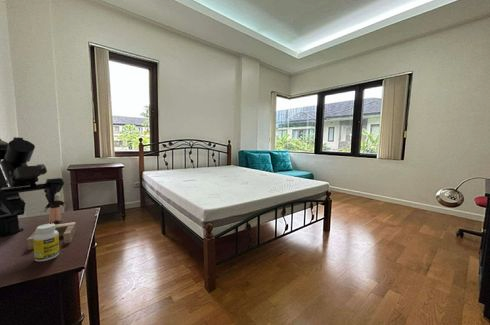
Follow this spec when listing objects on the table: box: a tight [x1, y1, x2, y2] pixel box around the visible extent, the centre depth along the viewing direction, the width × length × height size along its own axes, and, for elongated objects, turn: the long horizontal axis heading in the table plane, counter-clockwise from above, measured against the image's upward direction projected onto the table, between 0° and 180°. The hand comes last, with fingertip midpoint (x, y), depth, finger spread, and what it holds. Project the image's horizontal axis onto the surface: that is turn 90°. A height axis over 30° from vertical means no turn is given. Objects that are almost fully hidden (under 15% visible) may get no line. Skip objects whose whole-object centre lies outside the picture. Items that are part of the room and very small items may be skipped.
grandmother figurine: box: [43, 192, 66, 224], centre depth 87 cm, size 8×4×13 cm, turn 172°
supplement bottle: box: [33, 223, 60, 262], centre depth 61 cm, size 5×5×10 cm
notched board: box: [26, 221, 77, 251], centre depth 72 cm, size 10×10×4 cm
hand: (33, 210), depth 63 cm, fingers open, 9 cm apart
